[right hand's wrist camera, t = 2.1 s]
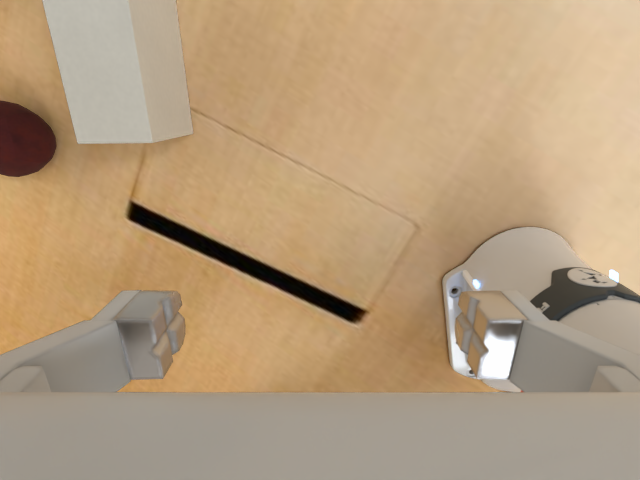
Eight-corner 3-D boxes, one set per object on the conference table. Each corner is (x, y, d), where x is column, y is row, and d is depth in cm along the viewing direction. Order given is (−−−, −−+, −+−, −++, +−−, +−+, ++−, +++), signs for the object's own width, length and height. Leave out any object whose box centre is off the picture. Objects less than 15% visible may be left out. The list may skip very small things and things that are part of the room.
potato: (-13, 101, 37) (-84, 101, 31) (60, 99, 37) (4, 98, 31) (11, 171, 40) (-50, 184, 33) (79, 169, 40) (31, 182, 33)
